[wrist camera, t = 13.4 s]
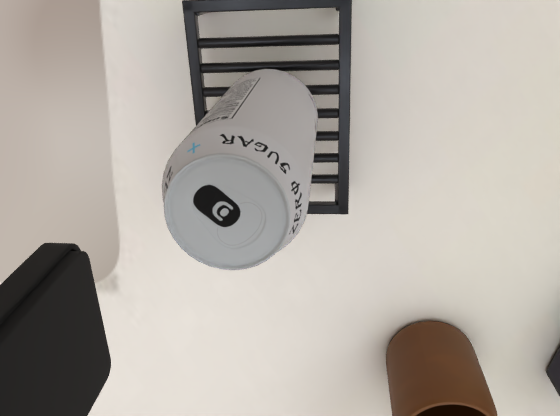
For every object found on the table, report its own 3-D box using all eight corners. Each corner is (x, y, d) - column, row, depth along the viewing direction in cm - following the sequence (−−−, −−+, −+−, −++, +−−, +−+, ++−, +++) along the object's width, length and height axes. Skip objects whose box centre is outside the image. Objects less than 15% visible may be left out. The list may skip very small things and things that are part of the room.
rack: (201, -4, 35) (181, 0, 31) (349, -10, 34) (351, -7, 30) (219, 186, 41) (205, 213, 36) (346, 186, 40) (348, 214, 35)
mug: (446, 425, 49) (469, 521, 41) (367, 411, 49) (373, 504, 41) (483, 324, 44) (519, 410, 35) (394, 310, 44) (409, 392, 36)
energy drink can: (276, 176, 35) (238, 309, 21) (206, 117, 33) (118, 218, 20) (338, 111, 32) (340, 212, 19) (265, 44, 31) (211, 103, 18)
